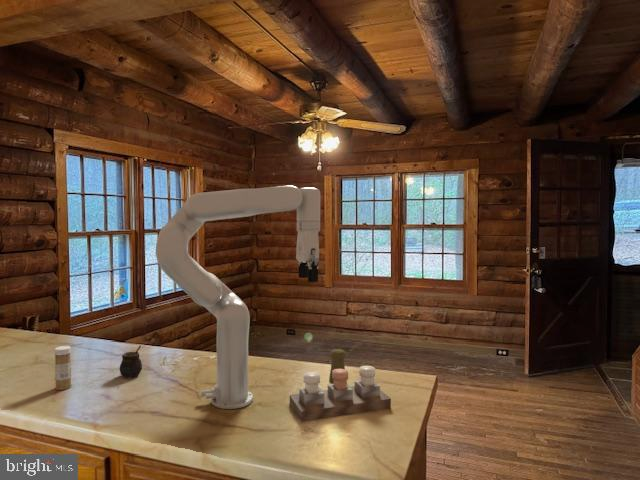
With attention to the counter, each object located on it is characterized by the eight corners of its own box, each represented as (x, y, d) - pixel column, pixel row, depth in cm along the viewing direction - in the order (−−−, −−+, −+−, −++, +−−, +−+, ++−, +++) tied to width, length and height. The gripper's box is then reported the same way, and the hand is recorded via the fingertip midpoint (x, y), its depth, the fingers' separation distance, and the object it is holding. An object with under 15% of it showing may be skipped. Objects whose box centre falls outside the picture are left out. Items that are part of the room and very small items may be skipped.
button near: (306, 395, 123) (306, 378, 122) (301, 389, 127) (301, 373, 127) (322, 393, 124) (322, 376, 124) (316, 387, 129) (316, 371, 129)
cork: (345, 385, 146) (345, 353, 145) (327, 383, 147) (327, 351, 146) (347, 378, 152) (347, 347, 151) (330, 377, 153) (331, 346, 152)
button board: (301, 422, 119) (301, 401, 118) (289, 404, 130) (289, 385, 130) (390, 408, 128) (391, 388, 128) (372, 392, 139) (372, 374, 139)
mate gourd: (114, 377, 150) (114, 349, 149) (131, 370, 157) (131, 343, 156) (130, 381, 147) (130, 352, 146) (146, 373, 154) (146, 346, 153)
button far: (363, 387, 129) (363, 371, 129) (356, 382, 133) (357, 366, 133) (377, 386, 130) (378, 370, 130) (370, 380, 135) (370, 365, 135)
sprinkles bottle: (72, 384, 143) (72, 344, 143) (69, 389, 139) (69, 348, 138) (56, 386, 142) (56, 346, 141) (53, 391, 137) (52, 350, 137)
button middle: (335, 391, 126) (335, 375, 125) (329, 385, 130) (329, 369, 130) (350, 389, 127) (350, 373, 127) (344, 383, 132) (344, 368, 132)
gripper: (289, 226, 144) (289, 276, 145) (305, 227, 128) (305, 284, 129) (310, 226, 147) (310, 275, 148) (329, 227, 131) (328, 283, 131)
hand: (307, 279), depth 138 cm, fingers open, 9 cm apart
